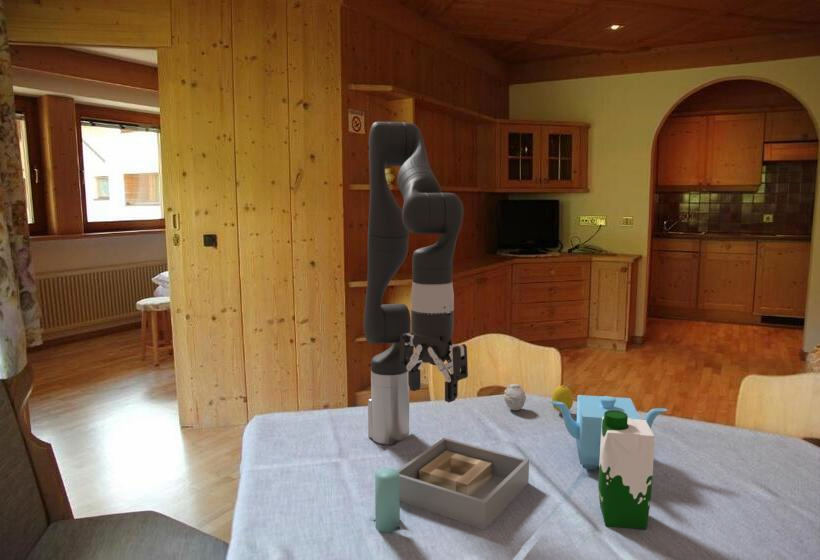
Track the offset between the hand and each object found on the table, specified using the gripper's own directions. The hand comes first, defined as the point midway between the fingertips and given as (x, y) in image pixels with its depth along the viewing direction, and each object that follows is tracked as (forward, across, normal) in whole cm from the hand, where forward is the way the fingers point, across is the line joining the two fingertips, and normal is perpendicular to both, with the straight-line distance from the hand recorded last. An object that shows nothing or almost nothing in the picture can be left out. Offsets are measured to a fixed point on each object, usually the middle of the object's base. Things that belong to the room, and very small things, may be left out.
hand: (432, 395), depth 108 cm
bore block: (+23, -5, +12) cm, 26 cm away
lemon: (+24, -9, +63) cm, 67 cm away
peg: (+24, -4, -8) cm, 25 cm away
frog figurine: (+24, -20, +56) cm, 64 cm away
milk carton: (+24, +26, +24) cm, 43 cm away
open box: (+24, -1, +10) cm, 26 cm away
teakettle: (+24, +13, +43) cm, 51 cm away
